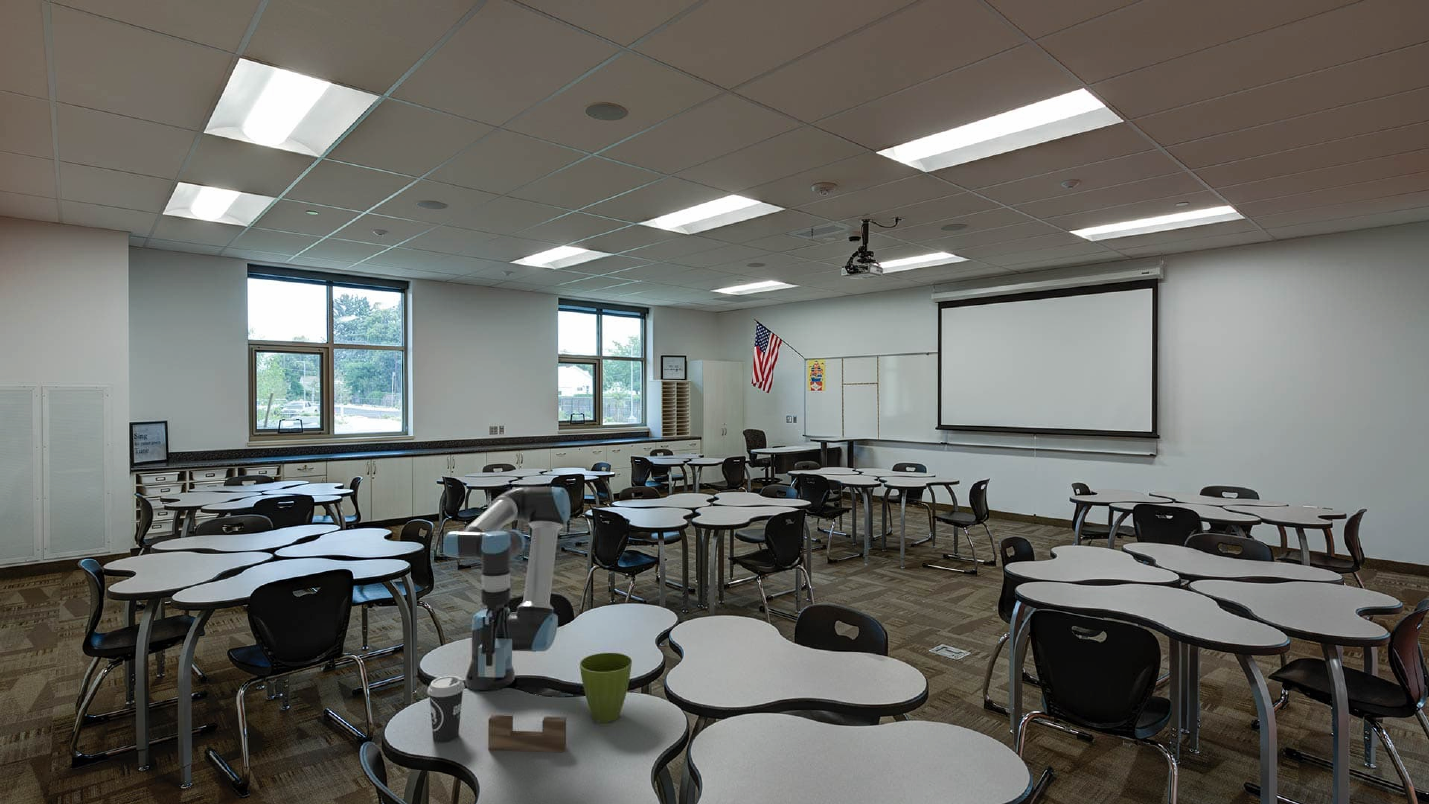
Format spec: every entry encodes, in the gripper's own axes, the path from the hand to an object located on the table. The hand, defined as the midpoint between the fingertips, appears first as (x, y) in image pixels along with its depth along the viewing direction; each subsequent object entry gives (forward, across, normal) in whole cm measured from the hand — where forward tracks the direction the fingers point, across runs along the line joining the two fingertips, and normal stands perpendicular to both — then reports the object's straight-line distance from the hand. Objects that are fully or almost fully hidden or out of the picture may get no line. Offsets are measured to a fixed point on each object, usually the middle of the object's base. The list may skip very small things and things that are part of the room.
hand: (495, 670), depth 190 cm
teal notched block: (0, 0, 0) cm, 0 cm away
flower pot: (+17, -10, +29) cm, 35 cm away
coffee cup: (+17, +4, -12) cm, 21 cm away
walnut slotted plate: (+17, +9, +12) cm, 22 cm away
